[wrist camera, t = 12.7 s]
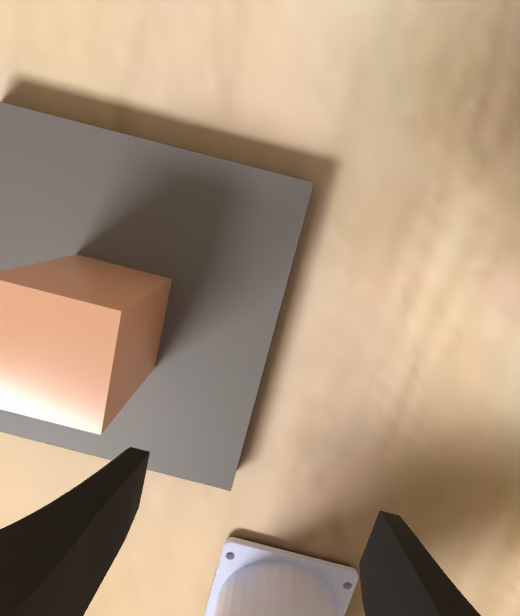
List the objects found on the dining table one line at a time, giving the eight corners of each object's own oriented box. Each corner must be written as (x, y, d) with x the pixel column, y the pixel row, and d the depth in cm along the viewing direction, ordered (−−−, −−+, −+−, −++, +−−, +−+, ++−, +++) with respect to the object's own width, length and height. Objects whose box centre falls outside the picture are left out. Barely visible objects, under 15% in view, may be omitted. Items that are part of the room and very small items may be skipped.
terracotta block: (154, 368, 20) (100, 434, 14) (63, 345, 20) (-28, 401, 14) (172, 278, 19) (121, 311, 13) (75, 253, 19) (-19, 275, 13)
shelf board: (234, 472, 23) (230, 490, 21) (-25, 406, 23) (-46, 419, 21) (312, 184, 19) (314, 182, 17) (-2, 103, 19) (-26, 95, 17)
